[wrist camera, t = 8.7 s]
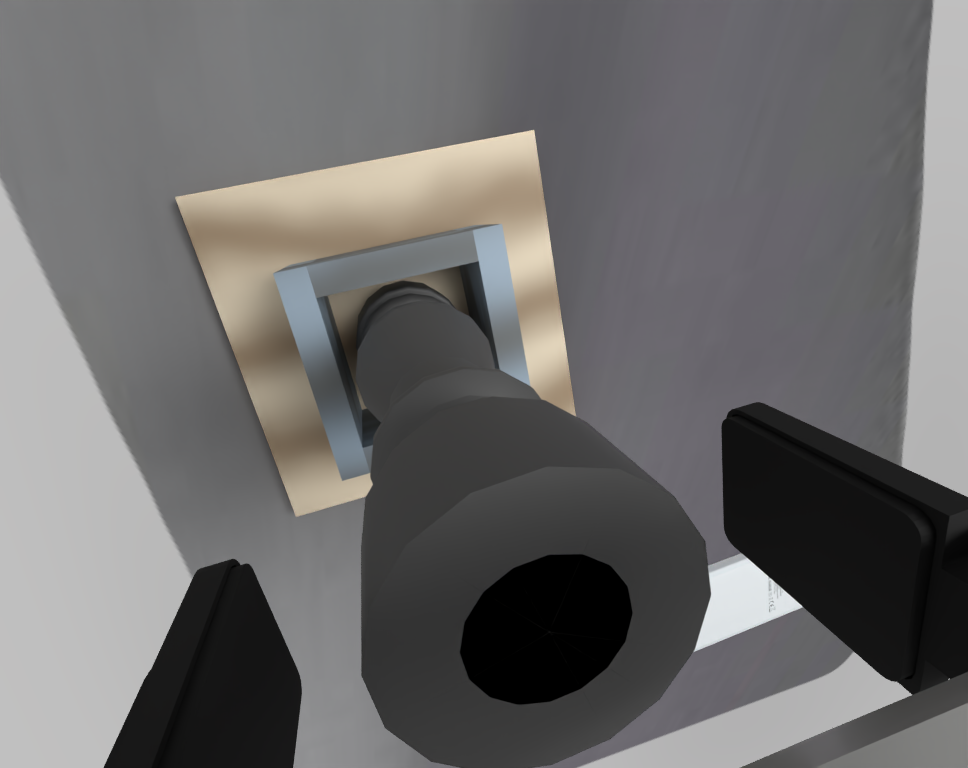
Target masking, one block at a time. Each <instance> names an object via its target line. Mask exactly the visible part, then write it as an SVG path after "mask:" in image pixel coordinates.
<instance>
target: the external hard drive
mask: <svg viewBox="0 0 968 768" xmlns="http://www.w3.org/2000/svg"><path fill="white" fill-rule="evenodd" d="M708 571H709V579H710V588H711V598H710V601H709V604H708V608H707V611H706V614H705V617H704V621H703V624H702V627H701V631H700V634H699V637H698V641H697V644H696V647H695V650H694V651H697V650H699V649H702V648H704V647H707V646H709V645H712V644H714V643H716V642H719V641H721V640H724V639H726V638H729V637H731V636H734V635H736V634H738V633H741V632H743V631H746V630H748V629H751V628H753V627H756V626H758V625H760V624H763V623H765V622H768V621H770V620H772V619H775V618H777V617H780V616H782V615H785V614H787V613H790V612H792V611H795V610H797V609H800V608H802V607H803V606H801V605H800V604H799V603H798V602H797V601H796V600H795V599H793V598H792V597H791V596H790V595H789V594H788V593H787V592H785V591H784V590H783V589H782V588H781V587H780V586H779V585H777V584H776V583H775V582H774V581H773V580H772V579H771V578H769V577H768V576H767V575H766V574H765V573H764V572H763V571H762V570H760V569H759V568H758V567H757V566H756V565H755V564H754V563H752V562H751V561H750V560H749V559H748V558H747V557H746V556H744V555H743V554H742V553H741V554H738V555H735V556H733V557H730V558H727V559H725V560H722V561H719V562H717V563H714V564H711V565H709V566H708ZM694 651H693V652H694Z"/></svg>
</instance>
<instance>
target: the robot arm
mask: <svg viewBox="0 0 968 768" xmlns="http://www.w3.org/2000/svg"><path fill="white" fill-rule="evenodd" d="M722 467H723V510H724V531H725V534H726V536H727V538H728V540H729V541H730V543H731V544H732V545H733V546H734V547H735V548H736V549H738V550H739V551H740V552H741V553H742V554H743V555H744V556H746V557H747V558H748V559H749V560H750V561H751V562H752V563H754V564H755V565H756V566H757V567H758V568H759V569H760V570H762V571H763V572H764V573H765V574H766V575H767V576H768V577H769V578H771V579H772V580H773V581H774V582H775V583H776V584H777V585H779V586H780V587H781V588H782V589H783V590H784V591H785V592H787V593H788V594H789V595H790V596H791V597H792V598H793V599H795V600H796V601H797V602H798V603H799V604H800V605H801V606H803V607H804V608H805V609H806V610H807V611H808V612H809V613H811V614H812V615H813V616H814V617H815V618H816V619H817V620H819V621H820V622H821V623H822V624H823V625H824V626H825V627H827V628H828V629H829V630H830V631H831V632H832V633H833V634H835V635H836V636H837V637H838V638H839V639H840V640H841V641H843V642H844V643H845V644H846V645H847V646H848V647H849V648H851V649H852V650H853V651H854V652H855V653H856V654H858V655H859V656H860V657H861V658H862V659H863V660H864V661H866V662H867V663H868V664H869V665H870V666H871V667H873V669H875V670H876V671H877V672H878V673H879V674H880V675H882V676H883V677H885V678H886V679H888V680H890V681H895V682H896V681H897V682H898V683H899V684H901V685H902V686H903V687H904V688H905V689H906V690H908V691H909V692H910V693H911V694H912V696H909V697H907V698H905V699H902V700H900V701H897V702H895V703H893V704H890V705H888V706H885V707H883V708H881V709H878V710H876V711H873V712H871V713H869V714H866V715H864V716H862V717H859V718H857V719H854V720H852V721H850V722H847V723H845V724H842V725H840V726H838V727H835V728H833V729H830V730H828V731H826V732H823V733H821V734H818V735H816V736H814V737H811V738H809V739H807V740H804V741H802V742H800V743H797V744H795V745H793V746H790V747H788V748H786V749H783V750H781V751H778V752H776V753H774V754H771V755H769V756H767V757H764V758H762V759H760V760H757V761H755V762H753V763H750V764H748V765H746V766H743V767H741V768H968V497H966V496H964V495H962V494H960V493H957V492H955V491H953V490H951V489H949V488H947V487H944V486H942V485H940V484H938V483H936V482H933V481H931V480H929V479H927V478H925V477H922V476H920V475H918V474H916V473H914V472H912V471H909V470H907V469H905V468H903V467H901V466H899V465H896V464H894V463H892V462H890V461H888V460H886V459H883V458H881V457H879V456H877V455H875V454H872V453H870V452H868V451H866V450H864V449H862V448H859V447H857V446H855V445H853V444H851V443H848V442H846V441H844V440H842V439H840V438H838V437H835V436H833V435H831V434H829V433H827V432H825V431H822V430H820V429H818V428H816V427H814V426H811V425H809V424H807V423H805V422H803V421H801V420H798V419H796V418H794V417H792V416H790V415H787V414H785V413H783V412H781V411H779V410H777V409H774V408H772V407H770V406H768V405H766V404H764V403H760V402H757V403H752V404H749V405H746V406H742V407H739V408H736V409H732V410H731V411H729V413H728V415H727V419H725V420H724V421H723V423H722ZM949 678H950V680H948V679H949ZM301 695H302V687H301V679H300V675H299V672H298V670H297V667H296V665H295V663H294V661H293V658H292V656H291V654H290V652H289V649H288V647H287V645H286V643H285V640H284V638H283V636H282V634H281V631H280V629H279V627H278V625H277V622H276V620H275V618H274V616H273V613H272V611H271V609H270V607H269V604H268V602H267V600H266V598H265V595H264V593H263V591H262V589H261V586H260V584H259V582H258V580H257V577H256V575H255V573H254V571H253V569H252V567H251V566H250V565H249V564H243V565H240V564H239V562H238V561H237V560H235V559H231V560H227V561H224V562H221V563H217V564H214V565H211V566H207V567H204V568H201V569H199V570H197V572H196V573H195V575H194V577H193V579H192V581H191V584H190V586H189V588H188V590H187V592H186V594H185V597H184V599H183V601H182V603H181V606H180V608H179V610H178V612H177V614H176V616H175V619H174V621H173V623H172V625H171V627H170V629H169V632H168V634H167V636H166V638H165V641H164V643H163V645H162V647H161V649H160V651H159V653H158V656H157V658H156V660H155V662H154V665H153V667H152V669H151V670H150V672H149V673H148V675H147V676H146V678H145V679H144V682H143V684H142V686H141V688H140V690H139V692H138V694H137V697H136V699H135V701H134V703H133V705H132V708H131V710H130V712H129V714H128V716H127V718H126V720H125V723H124V725H123V727H122V729H121V731H120V733H119V736H118V738H117V740H116V742H115V744H114V746H113V749H112V751H111V753H110V755H109V757H108V759H107V762H106V764H105V766H104V768H293V764H294V755H295V747H296V738H297V730H298V721H299V713H300V704H301Z"/></svg>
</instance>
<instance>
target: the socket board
mask: <svg viewBox="0 0 968 768" xmlns="http://www.w3.org/2000/svg"><path fill="white" fill-rule="evenodd" d="M175 199H176V201H177V204H178V207H179V209H180V212H181V215H182V217H183V220H184V222H185V225H186V228H187V230H188V233H189V236H190V238H191V241H192V244H193V246H194V249H195V251H196V254H197V257H198V259H199V262H200V265H201V267H202V270H203V273H204V275H205V278H206V280H207V283H208V286H209V288H210V291H211V294H212V296H213V299H214V302H215V304H216V307H217V309H218V312H219V315H220V317H221V320H222V323H223V325H224V328H225V331H226V333H227V336H228V338H229V341H230V344H231V346H232V349H233V352H234V354H235V357H236V360H237V362H238V365H239V368H240V370H241V373H242V375H243V378H244V381H245V383H246V386H247V389H248V391H249V394H250V397H251V399H252V402H253V404H254V407H255V410H256V412H257V415H258V418H259V420H260V423H261V426H262V428H263V431H264V433H265V436H266V439H267V441H268V444H269V447H270V449H271V452H272V455H273V457H274V460H275V462H276V465H277V468H278V470H279V473H280V476H281V478H282V481H283V484H284V486H285V489H286V491H287V494H288V497H289V499H290V502H291V505H292V507H293V510H294V513H295V515H296V517H298V516H301V515H305V514H308V513H311V512H315V511H318V510H322V509H325V508H328V507H332V506H335V505H339V504H342V503H346V502H349V501H352V500H356V499H359V498H363V497H366V496H367V494H368V492H369V491H370V489H371V487H372V485H373V483H372V481H371V478H370V471H371V460H372V449H373V437H374V435H375V433H376V431H377V429H378V427H379V426H380V424H381V422H380V421H379V420H378V419H377V418H376V417H375V416H374V415H373V414H372V413H371V412H370V410H369V409H368V408H367V407H366V406H365V405H364V402H363V399H362V397H361V394H360V391H359V388H358V385H357V383H356V367H357V354H358V352H357V349H356V337H357V323H358V315H359V313H360V312H361V310H362V308H363V306H364V304H365V302H366V300H367V298H369V297H370V296H371V295H372V294H374V293H375V292H376V291H377V290H379V289H380V288H381V287H382V286H385V285H388V284H392V283H395V282H399V281H402V280H404V281H412V282H420V283H424V284H426V285H427V286H429V287H431V288H433V289H434V290H436V291H438V292H440V293H441V294H442V295H444V296H445V297H446V298H448V299H449V300H450V302H451V303H452V304H453V306H454V307H455V308H456V309H457V310H459V311H460V312H462V313H464V314H466V315H468V316H469V317H471V318H472V319H473V320H474V322H475V323H476V324H477V326H478V327H479V328H480V329H481V331H482V332H483V333H484V335H485V336H486V337H487V339H488V340H489V344H490V348H491V352H492V356H493V360H494V364H495V369H499V370H501V371H503V372H505V373H507V374H509V375H511V376H512V377H514V378H516V379H518V380H520V381H522V382H524V383H526V384H527V385H529V386H531V387H532V388H533V389H534V390H535V391H536V393H537V394H538V395H539V397H540V398H541V399H542V400H546V401H547V402H549V403H551V404H553V405H555V406H557V407H559V408H561V409H563V410H564V411H566V412H568V413H570V414H572V415H574V416H576V415H575V408H574V401H573V394H572V387H571V380H570V374H569V367H568V360H567V353H566V346H565V339H564V332H563V326H562V319H561V312H560V305H559V298H558V291H557V284H556V278H555V271H554V264H553V257H552V250H551V243H550V237H549V230H548V223H547V216H546V209H545V202H544V195H543V189H542V182H541V175H540V168H539V161H538V154H537V147H536V141H535V134H534V130H532V131H526V132H521V133H516V134H510V135H505V136H500V137H494V138H489V139H484V140H478V141H473V142H468V143H462V144H457V145H452V146H446V147H441V148H436V149H430V150H425V151H420V152H414V153H409V154H403V155H398V156H393V157H387V158H382V159H377V160H371V161H366V162H361V163H355V164H350V165H345V166H339V167H334V168H329V169H323V170H318V171H313V172H307V173H302V174H297V175H291V176H286V177H281V178H275V179H270V180H265V181H259V182H254V183H248V184H243V185H238V186H232V187H227V188H222V189H216V190H211V191H206V192H200V193H195V194H190V195H184V196H179V197H175Z"/></svg>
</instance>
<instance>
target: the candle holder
mask: <svg viewBox="0 0 968 768" xmlns="http://www.w3.org/2000/svg"><path fill="white" fill-rule="evenodd" d="M356 349H357V352H358V354H357V367H356V383H357V385H358V388H359V391H360V394H361V397H362V399H363V402H364V405H365V406H366V407H367V408H368V409H369V410H370V412H371V413H372V414H373V415H374V416H375V417H376V418H377V419H378V420H379V421H380V422H381V424H380V426H379V427H378V429H377V431H376V433H375V435H374V437H373V449H372V460H371V471H370V478H371V481H372V483H373V485H372V487H371V489H370V491H369V492H368V494H367V496H366V499H365V510H364V522H363V533H362V545H361V640H362V678H363V680H364V682H365V684H366V687H367V689H368V691H369V693H370V695H371V698H372V700H373V702H374V704H375V707H376V709H377V711H378V713H379V715H380V718H381V720H382V722H383V724H384V726H385V728H386V729H387V730H388V731H390V732H391V733H393V734H394V735H395V736H397V737H398V738H399V739H401V740H402V741H404V742H405V743H406V744H408V745H409V746H410V747H412V748H413V749H415V750H416V751H417V752H419V753H420V754H421V755H423V756H424V757H426V758H427V759H428V760H430V761H431V762H436V763H441V764H446V765H451V766H456V767H461V768H533V767H540V766H547V765H552V764H555V763H557V762H559V761H562V760H564V759H566V758H568V757H571V756H573V755H575V754H577V753H580V752H582V751H584V750H586V749H589V748H591V747H593V746H596V745H598V744H600V743H602V742H605V741H607V740H609V739H611V738H612V737H613V736H615V735H616V734H617V733H618V732H620V731H621V730H622V729H623V728H624V727H626V726H627V725H628V724H629V723H631V722H632V721H633V720H634V719H636V718H637V717H638V716H639V715H641V714H642V713H643V712H644V711H646V710H647V709H648V708H649V707H651V706H652V705H653V704H654V703H656V702H657V701H658V700H659V699H660V698H661V697H662V695H663V694H664V692H665V691H666V689H667V688H668V687H669V685H670V684H671V682H672V681H673V680H674V678H675V677H676V675H677V674H678V673H679V671H680V670H681V668H682V667H683V666H684V664H685V663H686V661H687V660H688V659H689V657H690V656H691V654H692V653H693V651H694V650H695V647H696V644H697V641H698V637H699V634H700V631H701V627H702V624H703V621H704V617H705V614H706V611H707V608H708V604H709V601H710V598H711V588H710V579H709V571H708V562H707V553H706V544H705V540H704V539H703V537H702V536H701V535H700V533H699V532H698V530H697V529H696V527H695V526H694V524H693V523H692V521H691V520H690V519H689V517H688V516H687V514H686V513H685V511H684V510H683V508H682V507H681V505H680V504H679V503H678V501H677V500H676V498H675V497H674V496H673V495H672V494H671V493H670V492H669V491H667V490H666V489H665V488H664V487H663V486H661V485H660V484H659V483H658V482H657V481H656V480H654V479H653V478H652V477H651V476H650V475H648V474H647V473H646V472H645V471H644V470H643V469H641V468H640V467H639V466H638V465H637V464H635V463H634V462H633V461H632V460H631V459H630V458H628V457H627V456H626V455H625V454H624V453H622V452H621V451H620V450H619V449H618V448H617V447H615V446H614V445H613V444H612V443H611V442H609V441H608V440H607V439H606V438H605V437H604V436H602V435H601V434H600V433H599V432H598V431H596V430H595V429H594V428H593V427H592V426H591V425H589V424H588V423H587V422H585V421H583V420H581V419H580V418H578V417H576V416H574V415H572V414H570V413H568V412H566V411H564V410H563V409H561V408H559V407H557V406H555V405H553V404H551V403H549V402H547V401H546V400H542V399H541V398H540V397H539V395H538V394H537V393H536V391H535V390H534V389H533V388H532V387H531V386H529V385H527V384H526V383H524V382H522V381H520V380H518V379H516V378H514V377H512V376H511V375H509V374H507V373H505V372H503V371H501V370H499V369H495V364H494V360H493V356H492V352H491V348H490V344H489V340H488V339H487V337H486V336H485V335H484V333H483V332H482V331H481V329H480V328H479V327H478V326H477V324H476V323H475V322H474V320H473V319H472V318H471V317H469V316H468V315H466V314H464V313H462V312H460V311H459V310H457V309H456V308H455V307H454V306H453V304H452V303H451V302H450V300H449V299H448V298H446V297H445V296H444V295H442V294H441V293H440V292H438V291H436V290H434V289H433V288H431V287H429V286H427V285H426V284H424V283H420V282H412V281H404V280H402V281H399V282H395V283H392V284H388V285H385V286H382V287H381V288H380V289H379V290H377V291H376V292H375V293H374V294H372V295H371V296H370V297H369V298H367V300H366V302H365V304H364V306H363V308H362V310H361V312H360V313H359V315H358V323H357V337H356Z"/></svg>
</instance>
